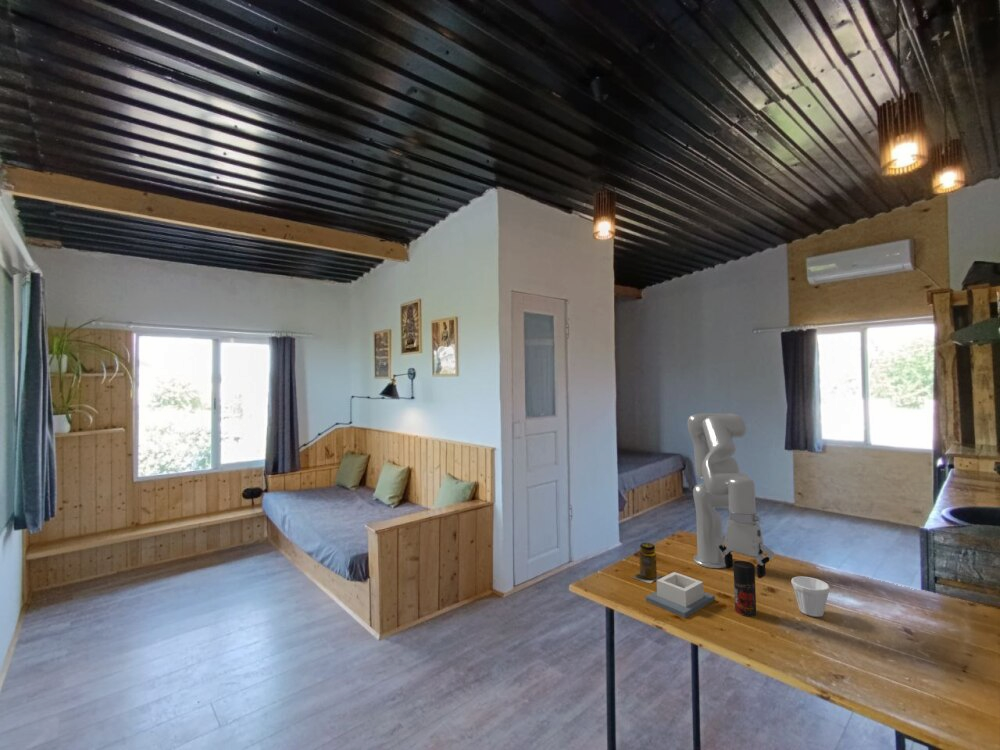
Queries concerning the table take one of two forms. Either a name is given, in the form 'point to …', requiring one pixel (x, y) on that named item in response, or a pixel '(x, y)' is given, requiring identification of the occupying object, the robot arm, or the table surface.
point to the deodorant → (744, 588)
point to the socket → (680, 594)
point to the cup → (811, 595)
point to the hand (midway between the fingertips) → (744, 572)
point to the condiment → (647, 563)
